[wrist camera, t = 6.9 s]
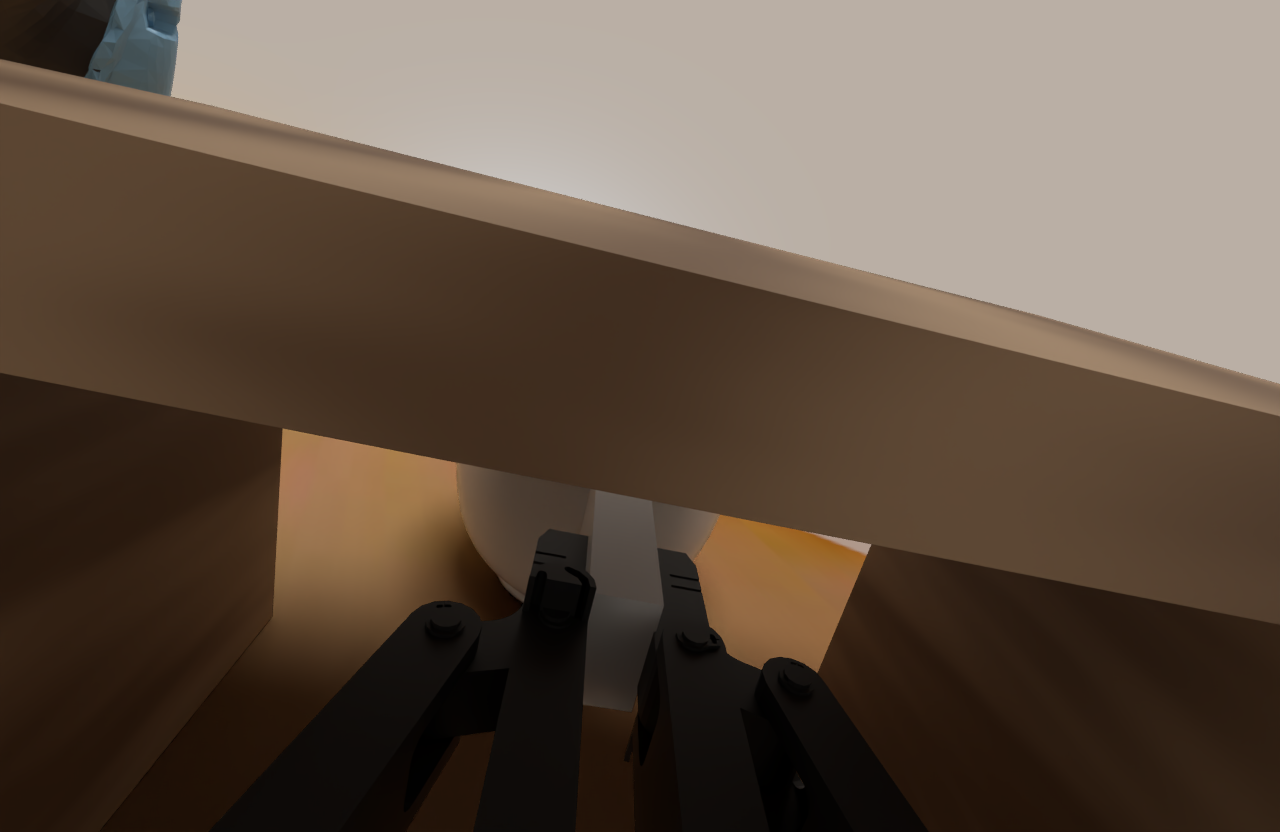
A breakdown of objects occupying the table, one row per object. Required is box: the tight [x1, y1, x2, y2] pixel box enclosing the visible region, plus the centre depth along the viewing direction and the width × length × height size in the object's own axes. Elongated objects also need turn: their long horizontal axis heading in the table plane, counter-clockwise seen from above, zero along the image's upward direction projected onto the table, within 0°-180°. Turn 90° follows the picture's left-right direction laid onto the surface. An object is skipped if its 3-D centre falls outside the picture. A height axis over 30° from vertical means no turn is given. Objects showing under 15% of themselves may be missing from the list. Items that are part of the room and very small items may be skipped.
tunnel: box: [0, 59, 1280, 832], centre depth 12 cm, size 22×13×14 cm, turn 92°
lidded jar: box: [456, 463, 720, 603], centre depth 24 cm, size 11×11×9 cm
